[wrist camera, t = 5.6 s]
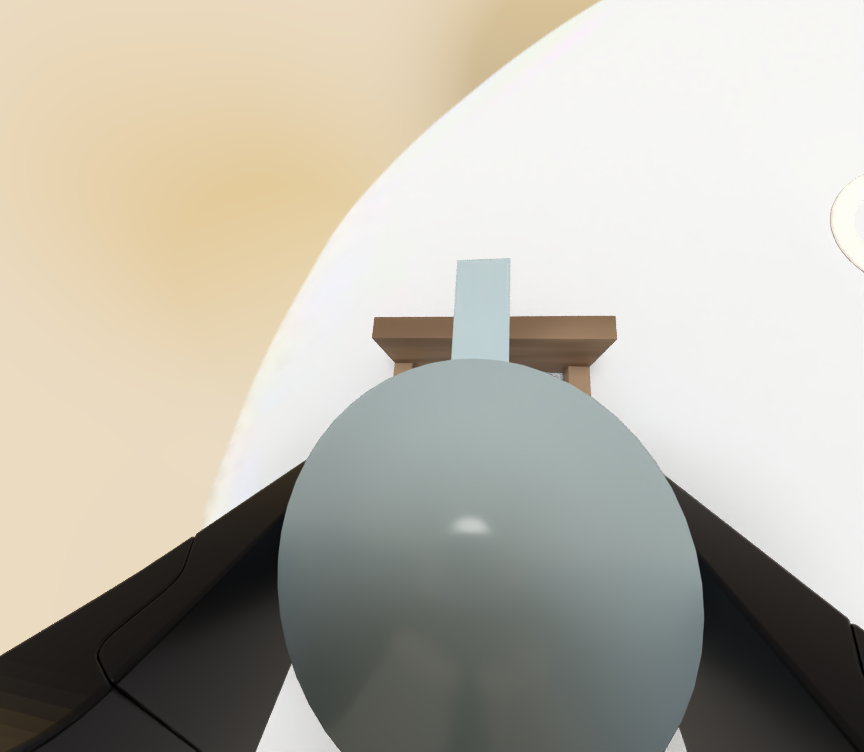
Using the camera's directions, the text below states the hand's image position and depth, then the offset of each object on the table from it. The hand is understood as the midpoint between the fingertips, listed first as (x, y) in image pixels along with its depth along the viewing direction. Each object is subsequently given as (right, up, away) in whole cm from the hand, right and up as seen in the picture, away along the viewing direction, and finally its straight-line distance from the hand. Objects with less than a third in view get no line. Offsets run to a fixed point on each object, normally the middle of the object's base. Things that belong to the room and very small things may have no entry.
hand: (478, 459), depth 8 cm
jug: (+1, -2, +6) cm, 7 cm away
